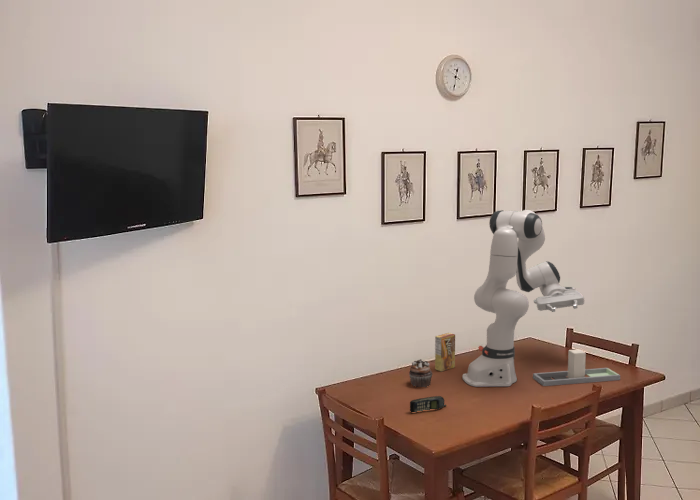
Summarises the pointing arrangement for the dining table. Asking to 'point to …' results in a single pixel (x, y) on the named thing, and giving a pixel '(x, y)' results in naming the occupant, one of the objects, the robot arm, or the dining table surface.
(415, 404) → the mobile phone
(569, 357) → the ivory block
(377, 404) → the dining table surface
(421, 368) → the cupcake
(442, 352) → the candy box
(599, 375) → the tray
